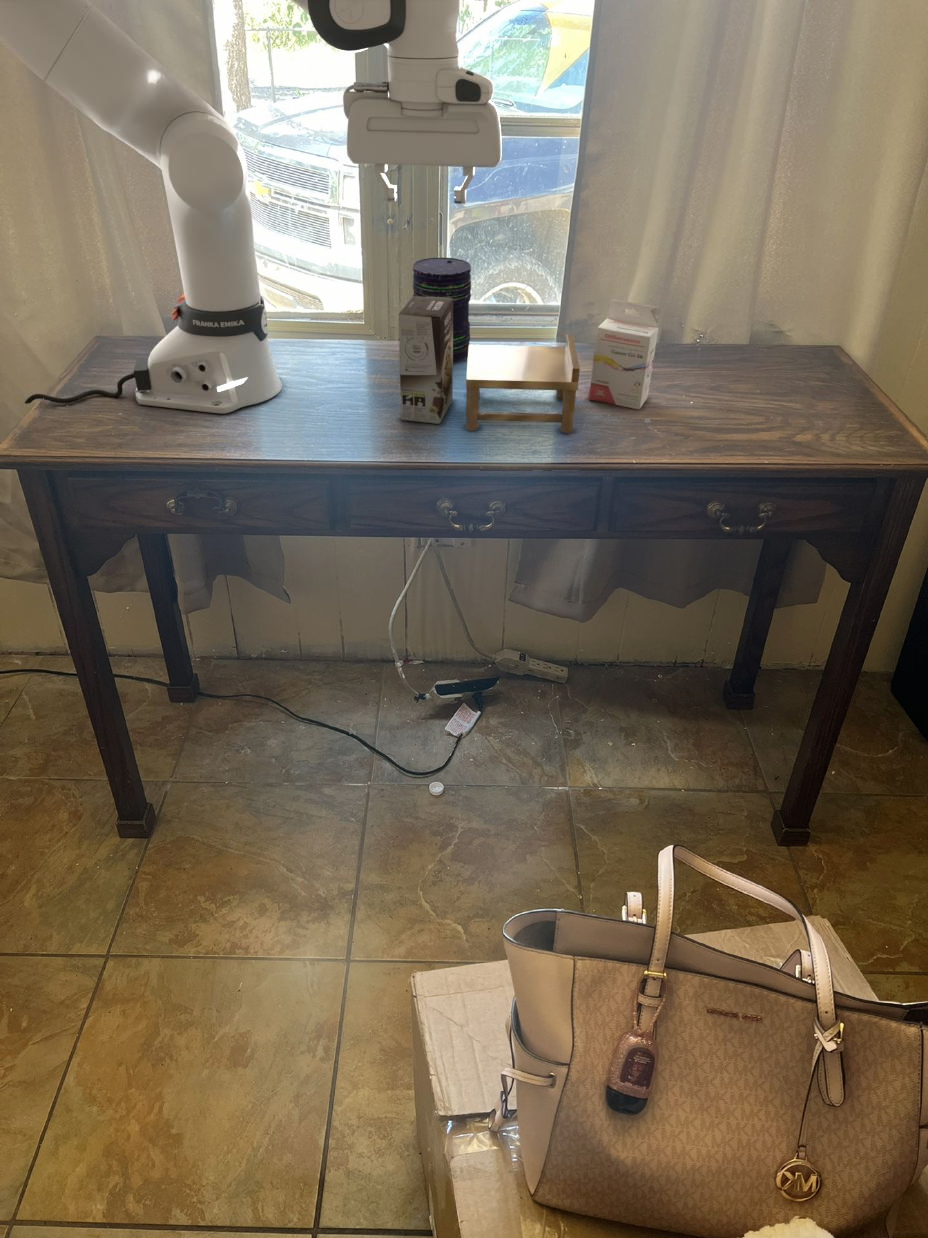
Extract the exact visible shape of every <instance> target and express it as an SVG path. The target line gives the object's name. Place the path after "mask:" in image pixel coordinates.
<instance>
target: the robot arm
mask: <svg viewBox="0 0 928 1238" xmlns="http://www.w3.org/2000/svg"><path fill="white" fill-rule="evenodd" d="M290 1H291V2H293V3H294V4H296V5H297V6H298V7H300V8H301V9H302V10H303V11H304V12H305V13H307V15H308V16H309V19H310V21H311V24H312V26H313V28H314V30H315V32H316V33H317V34H318V36H319V37H320V38H321V39H322V40H323V41H324V42H325V43H326V44H327V45H329V46H330V47H332V48H333V49H335V50H338V51H340V52H344V53H350V54H352V53H360V52H363V51H366V50H368V49H369V48H374V47H378V46H383V45H384V46H385V47H386V50H387V51H386V52H387V79H388V80H387V81H370V82H365V81H362V80H361V81H360V80H359V81H354V82H353V84H351V85H349V86H347V87H346V89H345V90H344V92H343V95H342V106H343V113H344V116H345V118H346V119H347V127H346V130H347V131H346V155H347V158H348V159H349V160H350V161H351V163H353V164H354V165H374V174H375V176H376V178H377V180H378V181H379V183H380V185H381V187H382V188H383V198H384V202H392V203H393V202H396V201H397V200H398V194H397V193H396V192H397V191H398V188H397V185H396V184H391V183H390V181H389V179H388V177H387V175H386V173H387V172H388V168H389V167H388V166H419V167H420V166H421V167H452V168H453V167H454V168H455V167H457V168H462V175H463V177H465V179H464V181H463V182H462V184H461V186H455V187H454V189H453V195H454V199H453V203H454V204H458V205H459V204H460V205H466V203H467V189H468V188H469V185H470V183H471V182H472V180H473V179H474V176H475V173H476V172H475V171H476V170H475V168H485V169H486V168H487V169H489V168H490V169H492V168H493V169H494V168H496V167H497V166H498V165H499V164H500V162H501V160H502V156H503V155H502V154H503V153H502V152H503V151H502V147H503V145H502V131H501V130H502V128H501V120H500V113H499V110H498V108H497V106H496V105H495V103H494V102H493V101H492V99H493V97H494V82H493V81H492V80H491V78H489V77H487V76H484V75H482V74H479V73H476V72H474V71H471V70H469V69H467V68H465V67H461V66H460V52H459V51H460V50H459V47H458V43H457V42H458V41H457V36H456V35H457V34H456V33H457V24H458V20H459V15H460V0H290ZM0 42H1V43H2V44H3V45H4V46H5V48H6V49H8V50H9V51H10V52H11V53H12V54H13V55H14V56H15V57H16V58H17V59H18V60H19V61H20V62H21V63H22V64H23V65H25V66H26V67H27V68H28V69H29V70H30V71H31V72H32V73H34V75H36V76H37V77H38V78H40V79H41V80H42V81H43V82H45V83H46V84H47V85H48V86H49V87H51V88H52V89H53V90H54V91H55V92H57V93H58V94H59V95H61V97H63V98H64V99H65V100H66V101H68V102H69V103H70V104H71V105H73V106H74V107H75V108H76V109H78V110H79V111H80V112H81V113H83V115H85V116H86V117H87V118H89V120H91V121H93V122H94V123H95V124H96V125H98V126H99V128H101V130H104V131H106V132H107V133H109V134H110V135H113V136H114V137H116V138H117V139H118V140H120V141H121V142H122V143H124V144H126V145H127V146H129V147H130V148H132V149H133V150H134V151H136V152H137V153H139V154H140V155H142V156H143V157H145V159H147V160H148V161H150V162H151V163H152V164H154V165H156V166H157V167H158V168H159V169H160V170H161V173H162V178H163V184H164V189H165V195H166V199H167V200H166V201H167V205H168V206H167V207H168V211H169V216H170V217H169V218H170V221H171V222H170V223H171V227H172V232H173V238H174V243H175V249H176V255H177V261H178V266H179V272H180V277H181V283H182V288H183V293H182V295H181V296H179V298H178V299H177V303H176V305H174V307H173V309H174V310H173V311H172V312H171V315H172V321H174V322H175V321H176V323H177V325H176V326H175V327H174V328H173V329H172V330H171V331H170V332H168V333H167V334H166V336H165V337H163V338H162V339H161V340H159V342H158V343H157V344H156V345H155V346H154V347H153V348H152V350H151V351H150V354H149V356H148V357H147V358H138V359H135V361H134V368H133V372H132V373H130V374H127V375H125V376H122V377H121V378H120V379H119V380H118V382H117V384H116V389H117V391H116V392H110V391H106V390H103V389H90V390H86V391H84V392H82V393H79V394H77V395H74V396H71V397H65V398H64V397H55V396H51V395H47V394H43V393H35V394H32V395H30V396H29V397H27V398H26V400H25V401H24V404H26V405H28V404H29V405H30V404H31V403H33V402H34V401H35V400H45V401H49V402H52V403H56V404H70V403H75V402H78V401H80V400H82V399H84V398H87V397H91V396H94V395H100V396H105V397H108V398H115V399H116V398H119V397H121V396H122V395H123V391H124V389H123V384H124V383H126V382H128V381H131V380H132V379H134V380H135V384H136V388H135V393H134V394H135V400H136V402H137V403H138V404H139V405H143V406H152V407H160V408H168V409H176V410H186V411H194V412H195V411H196V412H202V413H203V412H204V413H212V414H213V413H214V414H221V415H222V414H223V415H225V414H228V413H232V412H234V411H236V410H239V409H240V408H241V409H242V408H244V407H248V406H252V405H256V404H261V403H263V402H266V401H268V400H270V399H272V398H273V397H276V395H278V394H279V393H280V392H281V390H282V388H283V383H282V381H281V379H280V376H279V374H278V372H277V369H276V365H275V364H274V363H275V362H274V360H273V357H272V352H271V349H270V345H269V340H268V333H269V324H268V316H267V309H266V307H265V306H266V305H265V301H264V300H265V299H264V297H263V295H261V289H260V284H259V283H260V282H259V272H258V266H257V258H256V257H257V256H256V249H255V239H254V225H253V214H252V202H251V191H250V190H251V189H250V180H249V171H248V164H247V163H248V162H247V158H246V155H245V152H244V149H243V147H242V144H241V143H240V141H239V139H238V137H237V135H236V133H235V131H234V128H233V127H232V126H231V124H230V123H229V122H228V120H227V119H226V118H225V117H224V116H223V115H222V114H220V113H219V112H218V111H217V110H216V109H215V108H213V107H212V106H211V105H210V104H209V103H208V102H206V101H205V100H204V99H203V98H202V97H201V96H199V94H197V93H196V92H195V91H194V90H192V89H191V88H190V87H189V86H188V85H187V84H185V83H184V82H183V81H182V80H180V78H178V77H177V76H175V74H174V73H172V72H171V71H170V70H168V68H166V67H165V66H164V65H162V64H161V63H160V62H159V61H158V60H156V59H155V58H154V57H152V56H151V55H150V54H149V53H148V52H147V51H146V50H144V48H142V47H141V46H140V45H139V44H138V43H136V41H134V39H132V38H131V37H130V36H129V35H128V34H127V33H126V32H124V31H123V29H121V28H120V27H119V26H118V25H116V23H114V22H113V21H112V20H111V19H110V18H109V17H108V16H107V15H105V13H103V12H102V11H101V10H100V9H99V8H97V6H95V5H94V4H93V2H91V1H90V0H0ZM351 90H352V91H351ZM43 398H44V399H43Z"/></svg>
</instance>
